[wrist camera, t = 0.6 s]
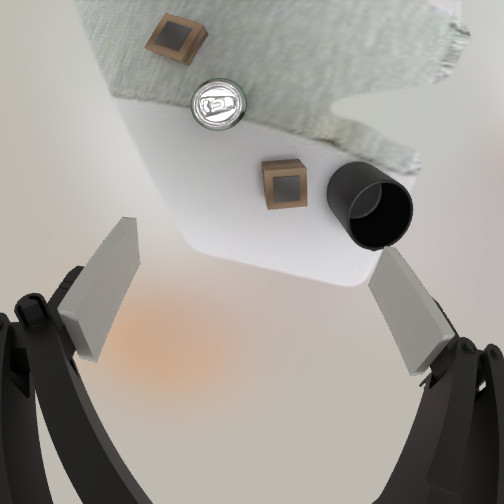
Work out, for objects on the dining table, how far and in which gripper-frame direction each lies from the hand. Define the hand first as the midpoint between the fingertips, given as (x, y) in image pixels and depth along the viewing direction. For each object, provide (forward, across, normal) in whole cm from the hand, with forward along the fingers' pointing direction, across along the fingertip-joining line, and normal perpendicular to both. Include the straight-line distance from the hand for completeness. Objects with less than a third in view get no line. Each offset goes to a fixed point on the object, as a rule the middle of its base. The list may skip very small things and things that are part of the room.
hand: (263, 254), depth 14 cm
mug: (+25, +16, -5) cm, 30 cm away
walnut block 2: (+25, +4, -3) cm, 26 cm away
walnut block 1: (+26, -11, +14) cm, 31 cm away
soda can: (+25, -4, +6) cm, 26 cm away
